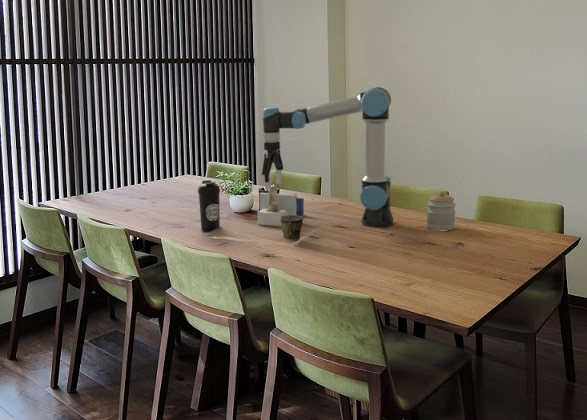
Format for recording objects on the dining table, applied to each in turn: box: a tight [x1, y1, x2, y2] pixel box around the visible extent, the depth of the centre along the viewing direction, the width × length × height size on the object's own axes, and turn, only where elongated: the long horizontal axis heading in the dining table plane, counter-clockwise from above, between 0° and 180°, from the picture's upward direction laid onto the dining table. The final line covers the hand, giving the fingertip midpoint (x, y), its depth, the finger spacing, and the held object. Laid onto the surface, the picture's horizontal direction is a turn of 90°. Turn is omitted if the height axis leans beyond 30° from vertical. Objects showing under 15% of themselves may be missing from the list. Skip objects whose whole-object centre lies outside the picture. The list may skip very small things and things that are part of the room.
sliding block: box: [257, 208, 289, 227], centre depth 335 cm, size 12×10×6 cm
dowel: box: [268, 185, 278, 212], centre depth 334 cm, size 4×4×16 cm
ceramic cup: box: [280, 215, 304, 242], centre depth 308 cm, size 13×10×10 cm
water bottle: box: [197, 179, 221, 233], centre depth 327 cm, size 10×10×23 cm
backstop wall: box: [259, 192, 297, 215], centre depth 331 cm, size 18×23×14 cm
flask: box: [292, 193, 305, 217], centre depth 356 cm, size 9×3×11 cm, turn 61°
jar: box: [425, 190, 457, 231], centre depth 325 cm, size 13×13×18 cm
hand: (273, 186), depth 332 cm, fingers open, 13 cm apart
